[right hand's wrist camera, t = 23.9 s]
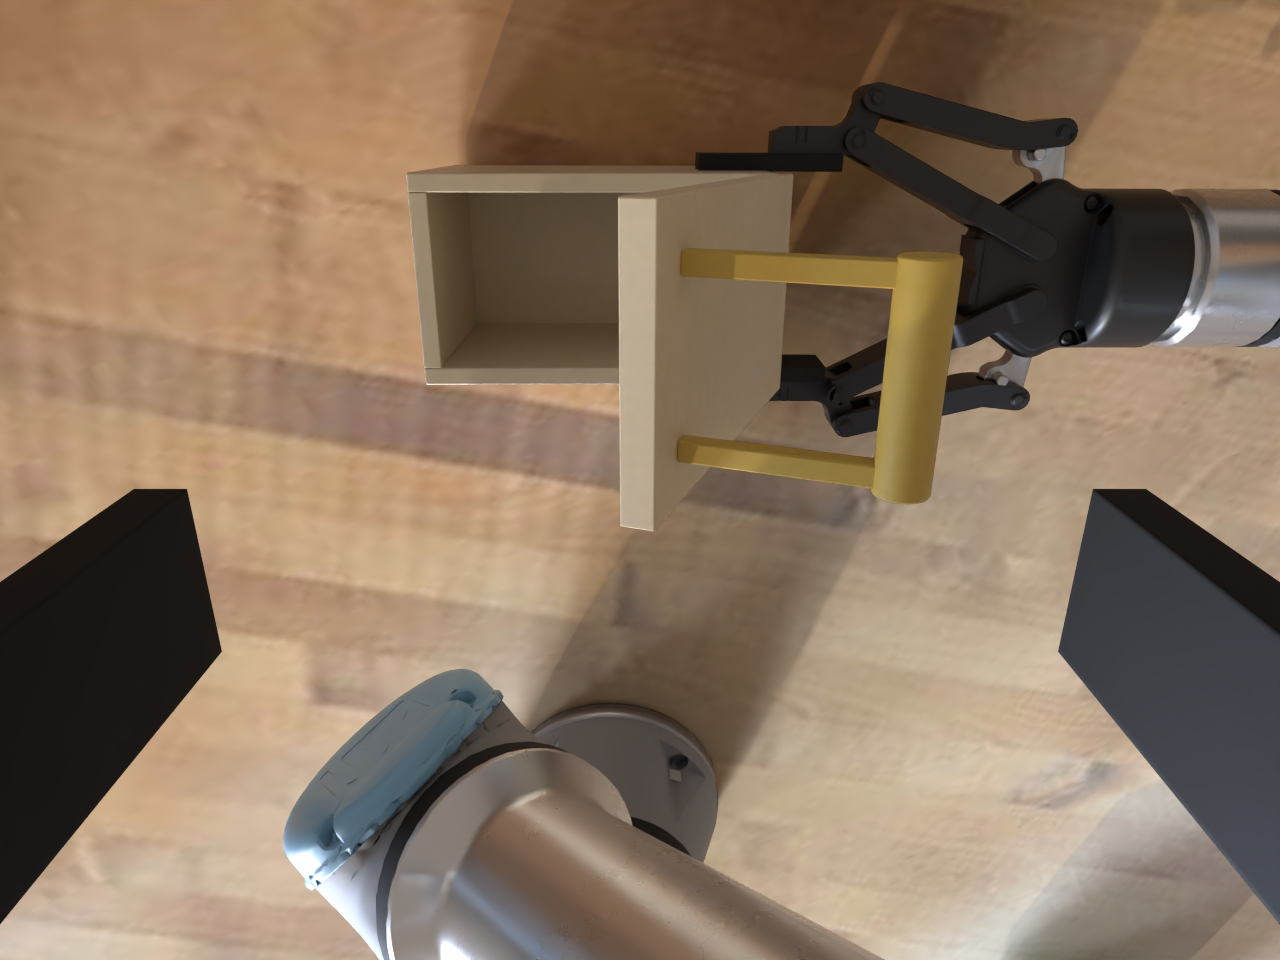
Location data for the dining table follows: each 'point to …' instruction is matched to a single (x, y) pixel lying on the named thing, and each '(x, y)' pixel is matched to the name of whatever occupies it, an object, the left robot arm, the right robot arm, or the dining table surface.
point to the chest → (525, 268)
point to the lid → (757, 345)
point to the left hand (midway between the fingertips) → (694, 269)
